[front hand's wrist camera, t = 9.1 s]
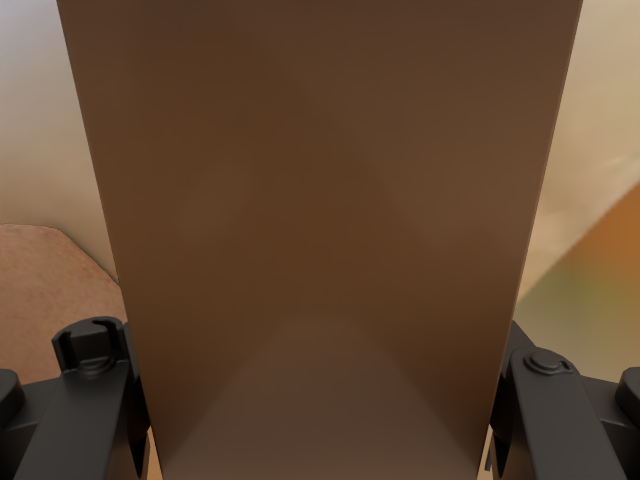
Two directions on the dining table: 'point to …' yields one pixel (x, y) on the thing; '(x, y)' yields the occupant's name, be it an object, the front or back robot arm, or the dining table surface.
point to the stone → (46, 296)
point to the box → (319, 219)
